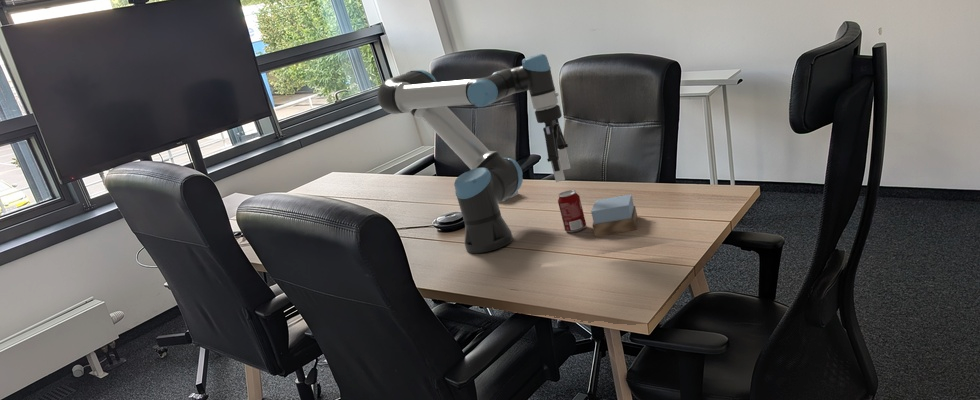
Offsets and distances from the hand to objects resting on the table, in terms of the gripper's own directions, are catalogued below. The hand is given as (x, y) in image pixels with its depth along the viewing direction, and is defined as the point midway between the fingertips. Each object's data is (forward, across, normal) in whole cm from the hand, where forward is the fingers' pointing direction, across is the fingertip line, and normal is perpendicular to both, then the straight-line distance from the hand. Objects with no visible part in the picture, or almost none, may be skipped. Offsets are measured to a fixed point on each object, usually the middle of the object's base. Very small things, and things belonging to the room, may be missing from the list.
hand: (563, 175), depth 226 cm
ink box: (+18, +43, +32) cm, 57 cm away
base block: (+18, -4, -13) cm, 23 cm away
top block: (+14, -4, -13) cm, 20 cm away
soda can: (+18, 0, 0) cm, 18 cm away
